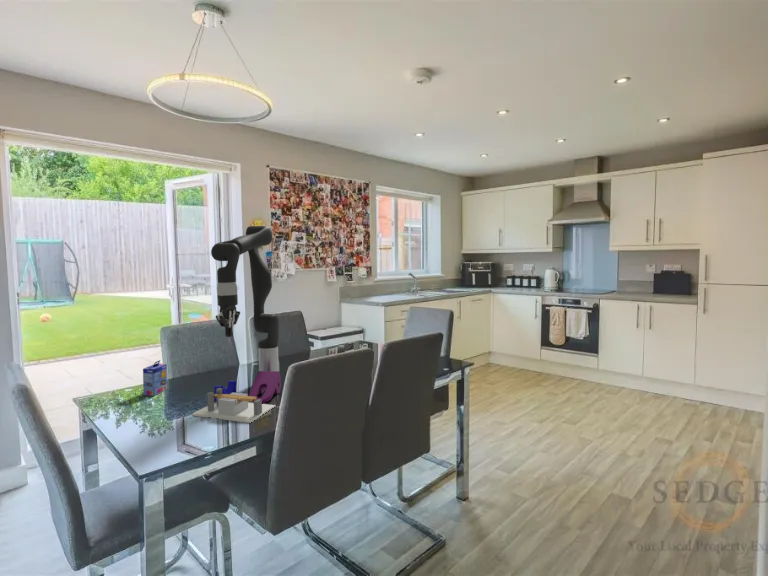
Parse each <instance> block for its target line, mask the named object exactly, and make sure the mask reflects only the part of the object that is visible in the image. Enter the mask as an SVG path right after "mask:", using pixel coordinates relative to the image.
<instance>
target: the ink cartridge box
mask: <svg viewBox="0 0 768 576" xmlns="http://www.w3.org/2000/svg"><path fill="white" fill-rule="evenodd" d="M167 374H168V373H167V363H161V360H157V361H154V364H151V365H149V366H146V367H144V368H143V369H142V385H143V386H142V387H143V389H142V390H143V393H142V394H143V396H149V397H150V396H151V397H155V396H156V395H160V394H161V393H163V392H165V391H167V387H168V385H167V383H168V382H167V380H168V379H167Z"/></svg>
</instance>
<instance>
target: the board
mask: <svg viewBox="0 0 768 576" xmlns="http://www.w3.org/2000/svg"><path fill="white" fill-rule="evenodd" d="M216 393H219V394H222V389H221V388H217V389H216ZM230 395H241V396H249V394H248V393H241V392H236V393H232V394H230ZM206 397H207V405H206V406H204V407H203V408H201V409H199V410H197V411H195V412H193V413H192V416H193V417H203V418H208V417H211V419H215V418H219V419H218V420H226V421H230V422H231V421H232V422H240V423H248V424H251V422H252V423H253V422H254V420H255V421H256V420H258V419H260V418H261V417H263V416H264V415H266V414H267V413H269V412H270V411H272V410H273V409H272V408H274V407H275V408H276V404H268V403H263V404H262V399H257V400H256V401H254V403H253V402H249V401H239V400H236V399H227V398H221V399H217V398H216V399H217V401H214V391H212V392H211V391H209V392H207V393H206ZM275 408H274V409H275ZM271 409H272V410H271ZM269 410H270V411H269ZM268 411H269V412H268ZM266 412H267V413H266ZM265 413H266V414H265ZM263 414H264V415H263ZM262 415H263V416H262ZM260 416H261V417H260Z"/></svg>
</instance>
